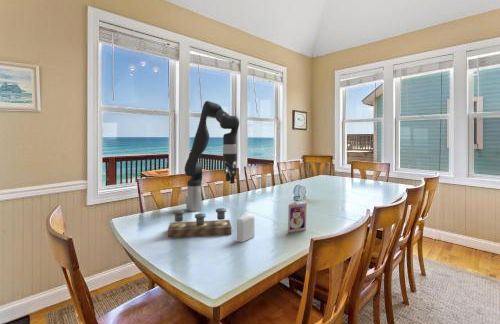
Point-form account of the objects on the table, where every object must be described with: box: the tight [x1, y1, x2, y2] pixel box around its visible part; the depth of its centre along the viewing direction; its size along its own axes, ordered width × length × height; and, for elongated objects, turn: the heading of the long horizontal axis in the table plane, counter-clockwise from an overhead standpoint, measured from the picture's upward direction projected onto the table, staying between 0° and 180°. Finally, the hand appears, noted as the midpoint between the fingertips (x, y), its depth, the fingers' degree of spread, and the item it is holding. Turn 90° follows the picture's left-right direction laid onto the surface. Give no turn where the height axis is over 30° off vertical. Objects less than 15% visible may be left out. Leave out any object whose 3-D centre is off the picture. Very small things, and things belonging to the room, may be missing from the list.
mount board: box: [167, 219, 232, 239], centre depth 141 cm, size 32×12×4 cm, turn 100°
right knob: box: [215, 207, 227, 220], centre depth 143 cm, size 6×6×5 cm
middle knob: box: [194, 213, 207, 225], centre depth 141 cm, size 6×6×5 cm
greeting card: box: [287, 200, 307, 234], centre depth 146 cm, size 11×7×15 cm, turn 114°
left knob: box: [172, 209, 185, 222], centre depth 139 cm, size 6×6×5 cm
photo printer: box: [236, 213, 256, 243], centre depth 132 cm, size 10×4×12 cm, turn 140°
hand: (230, 182), depth 147 cm, fingers open, 8 cm apart
